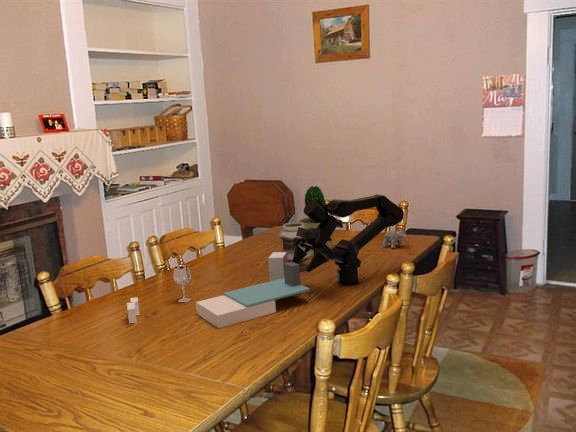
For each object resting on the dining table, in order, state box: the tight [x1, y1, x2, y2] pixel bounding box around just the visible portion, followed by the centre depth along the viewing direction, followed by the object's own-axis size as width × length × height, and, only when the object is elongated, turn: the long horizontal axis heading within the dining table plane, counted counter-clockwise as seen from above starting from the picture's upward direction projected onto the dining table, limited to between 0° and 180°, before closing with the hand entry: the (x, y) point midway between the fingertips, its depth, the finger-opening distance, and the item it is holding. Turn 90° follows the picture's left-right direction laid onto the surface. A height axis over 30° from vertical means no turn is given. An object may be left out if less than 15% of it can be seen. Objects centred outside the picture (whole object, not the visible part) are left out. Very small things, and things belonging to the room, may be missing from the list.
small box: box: [267, 251, 288, 281], centre depth 214 cm, size 8×6×10 cm
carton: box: [195, 294, 277, 329], centre depth 185 cm, size 20×16×4 cm
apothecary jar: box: [278, 221, 312, 272], centre depth 230 cm, size 12×12×18 cm
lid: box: [223, 262, 311, 307], centre depth 190 cm, size 23×16×10 cm
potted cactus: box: [297, 185, 333, 258], centre depth 250 cm, size 15×15×30 cm
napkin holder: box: [126, 296, 141, 325], centre depth 188 cm, size 15×11×6 cm
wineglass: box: [173, 264, 192, 303], centre depth 200 cm, size 6×6×12 cm
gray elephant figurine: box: [382, 229, 410, 250], centre depth 253 cm, size 9×12×8 cm
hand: (299, 268), depth 197 cm, fingers open, 9 cm apart
